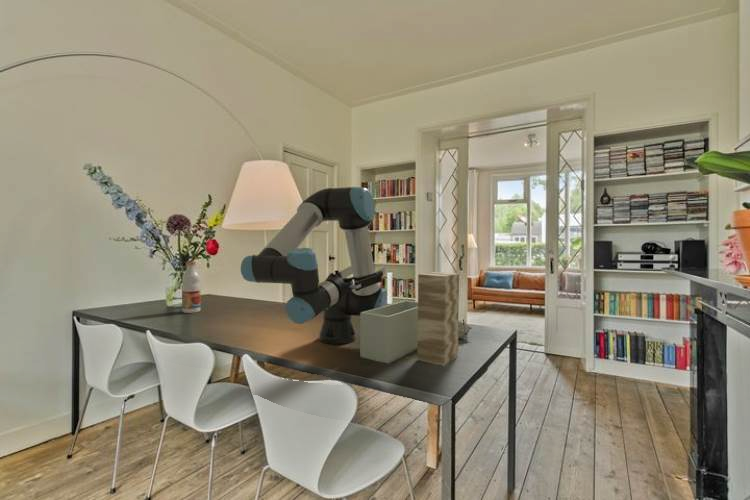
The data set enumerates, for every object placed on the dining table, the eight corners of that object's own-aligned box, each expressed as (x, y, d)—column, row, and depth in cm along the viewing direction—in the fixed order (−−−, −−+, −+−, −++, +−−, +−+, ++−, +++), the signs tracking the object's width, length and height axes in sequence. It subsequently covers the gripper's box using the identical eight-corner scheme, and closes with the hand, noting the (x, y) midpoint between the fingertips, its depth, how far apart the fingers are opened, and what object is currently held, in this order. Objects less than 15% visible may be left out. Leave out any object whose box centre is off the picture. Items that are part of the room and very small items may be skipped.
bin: (388, 363, 123) (388, 316, 122) (360, 356, 130) (360, 312, 129) (429, 342, 148) (430, 303, 147) (404, 337, 155) (404, 300, 154)
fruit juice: (187, 309, 210) (186, 261, 209) (203, 309, 211) (203, 261, 210) (178, 313, 201) (178, 262, 200) (196, 313, 201) (195, 263, 200)
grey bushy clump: (464, 348, 153) (472, 333, 147) (444, 340, 154) (452, 324, 148) (467, 333, 160) (475, 318, 154) (449, 325, 161) (456, 310, 155)
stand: (443, 365, 121) (445, 276, 120) (417, 359, 127) (418, 274, 126) (457, 356, 131) (459, 273, 130) (432, 351, 137) (433, 271, 136)
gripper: (301, 301, 115) (341, 279, 133) (366, 306, 102) (400, 280, 119) (296, 279, 114) (337, 259, 131) (362, 281, 100) (397, 259, 118)
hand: (367, 269), depth 125 cm, fingers open, 13 cm apart
